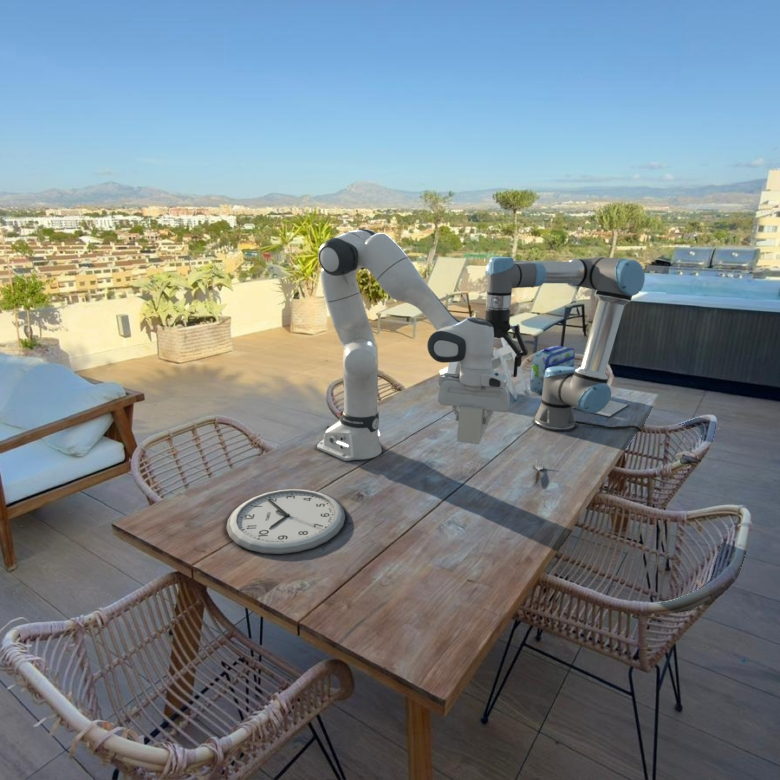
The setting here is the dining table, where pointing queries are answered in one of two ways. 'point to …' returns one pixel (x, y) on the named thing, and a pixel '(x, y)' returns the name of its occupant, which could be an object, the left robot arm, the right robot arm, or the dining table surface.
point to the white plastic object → (496, 359)
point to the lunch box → (549, 364)
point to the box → (471, 424)
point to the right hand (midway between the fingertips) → (493, 373)
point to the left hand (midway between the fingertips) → (471, 422)
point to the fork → (538, 469)
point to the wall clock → (285, 521)
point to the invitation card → (611, 408)
